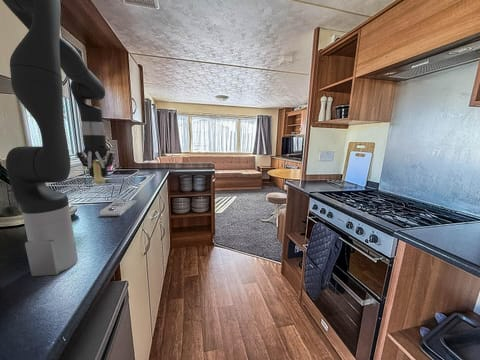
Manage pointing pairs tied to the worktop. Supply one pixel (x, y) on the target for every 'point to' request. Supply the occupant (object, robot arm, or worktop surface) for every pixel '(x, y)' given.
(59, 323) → the worktop surface
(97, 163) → the pin
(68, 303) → the worktop surface
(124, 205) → the grey flat block
